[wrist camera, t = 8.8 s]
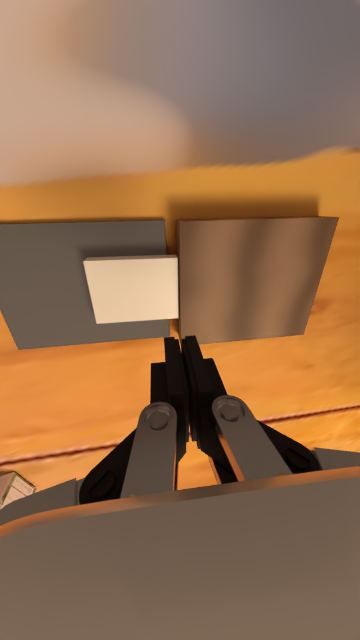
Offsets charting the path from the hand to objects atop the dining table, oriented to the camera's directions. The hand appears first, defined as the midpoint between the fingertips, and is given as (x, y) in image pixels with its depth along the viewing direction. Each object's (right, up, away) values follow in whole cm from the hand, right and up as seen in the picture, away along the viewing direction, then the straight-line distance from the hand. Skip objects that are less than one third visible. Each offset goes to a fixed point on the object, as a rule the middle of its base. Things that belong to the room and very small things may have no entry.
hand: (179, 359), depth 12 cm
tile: (-4, +5, +10) cm, 12 cm away
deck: (+7, +6, +11) cm, 14 cm away
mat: (-9, +5, +9) cm, 14 cm away
